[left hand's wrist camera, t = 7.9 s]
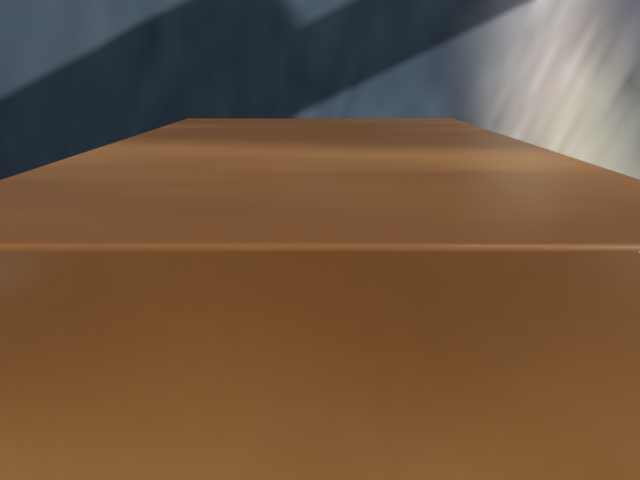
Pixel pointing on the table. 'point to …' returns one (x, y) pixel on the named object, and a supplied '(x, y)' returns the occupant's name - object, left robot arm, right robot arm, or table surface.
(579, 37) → the table surface
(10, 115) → the table surface
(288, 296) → the box
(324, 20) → the table surface
